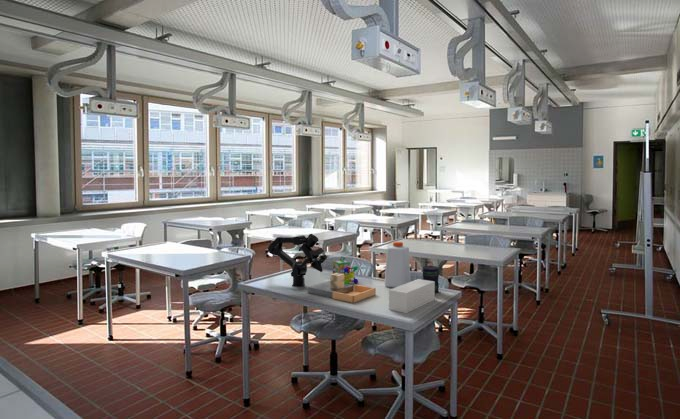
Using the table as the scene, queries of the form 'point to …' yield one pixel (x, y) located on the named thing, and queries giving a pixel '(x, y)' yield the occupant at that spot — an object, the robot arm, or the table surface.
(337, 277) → the beech block
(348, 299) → the box
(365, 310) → the table surface
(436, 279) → the storage jar
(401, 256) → the plastic bottle
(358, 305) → the table surface
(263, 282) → the table surface
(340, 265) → the chalk box
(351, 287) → the slate plate
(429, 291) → the long white block
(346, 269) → the molecular model
